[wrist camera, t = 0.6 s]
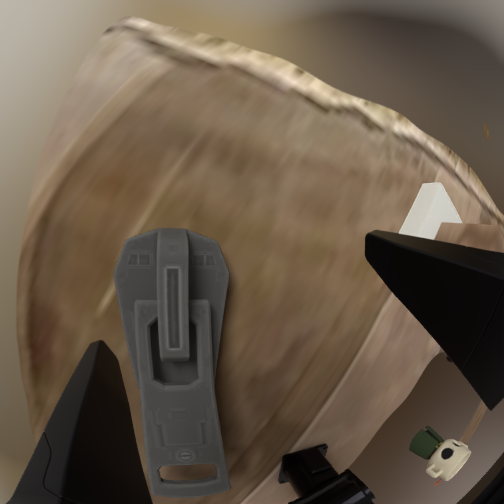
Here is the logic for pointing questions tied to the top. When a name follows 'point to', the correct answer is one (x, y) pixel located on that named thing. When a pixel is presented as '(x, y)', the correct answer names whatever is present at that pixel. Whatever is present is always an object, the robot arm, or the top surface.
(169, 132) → the top surface
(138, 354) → the zipper pull
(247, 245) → the top surface
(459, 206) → the top surface
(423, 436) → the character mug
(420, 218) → the mounting board
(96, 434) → the robot arm
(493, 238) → the cabinet block
